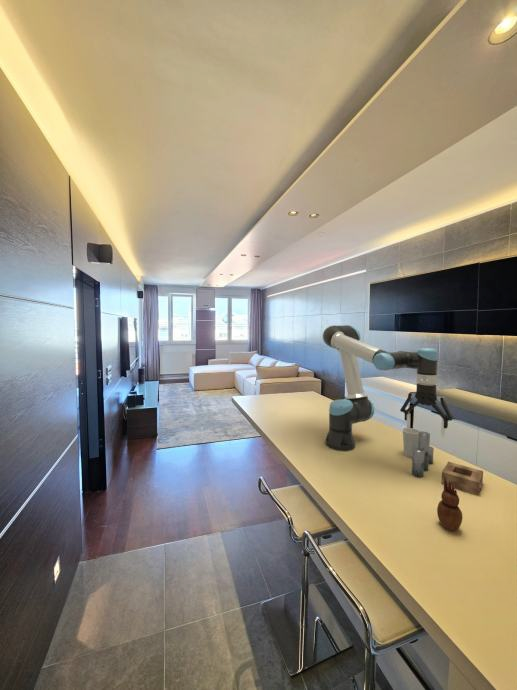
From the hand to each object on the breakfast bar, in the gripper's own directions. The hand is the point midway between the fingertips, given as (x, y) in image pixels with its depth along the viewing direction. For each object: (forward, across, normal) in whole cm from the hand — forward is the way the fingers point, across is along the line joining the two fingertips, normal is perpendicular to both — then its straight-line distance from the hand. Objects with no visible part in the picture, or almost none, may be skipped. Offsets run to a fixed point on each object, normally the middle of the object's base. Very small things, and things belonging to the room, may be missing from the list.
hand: (425, 431), depth 130 cm
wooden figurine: (+17, +16, -36) cm, 43 cm away
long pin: (+17, 0, 0) cm, 17 cm away
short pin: (+17, 0, +8) cm, 19 cm away
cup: (+17, -9, +12) cm, 22 cm away
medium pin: (+17, 0, -8) cm, 19 cm away
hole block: (+17, +14, -3) cm, 23 cm away
